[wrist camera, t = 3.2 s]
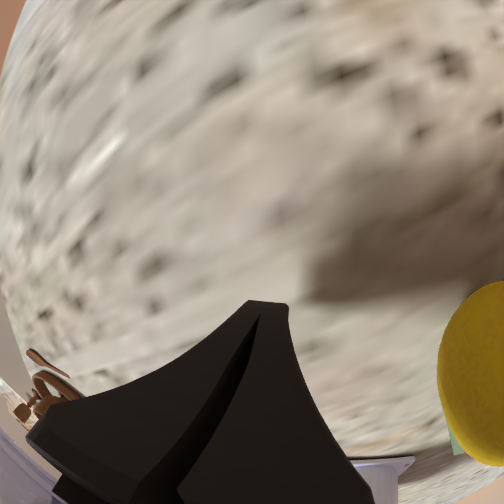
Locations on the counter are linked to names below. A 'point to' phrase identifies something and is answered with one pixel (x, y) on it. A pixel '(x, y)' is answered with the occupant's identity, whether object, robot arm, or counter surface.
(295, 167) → the counter surface
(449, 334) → the lemon
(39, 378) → the place setting
